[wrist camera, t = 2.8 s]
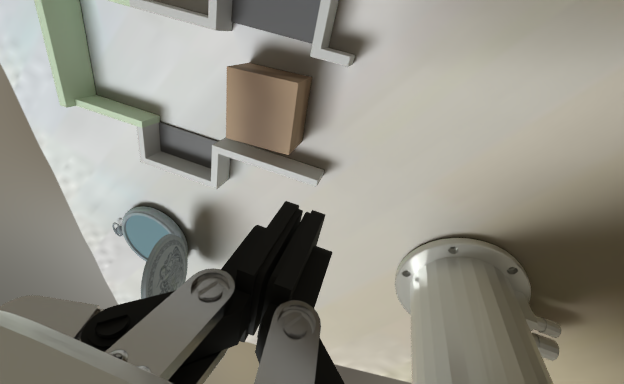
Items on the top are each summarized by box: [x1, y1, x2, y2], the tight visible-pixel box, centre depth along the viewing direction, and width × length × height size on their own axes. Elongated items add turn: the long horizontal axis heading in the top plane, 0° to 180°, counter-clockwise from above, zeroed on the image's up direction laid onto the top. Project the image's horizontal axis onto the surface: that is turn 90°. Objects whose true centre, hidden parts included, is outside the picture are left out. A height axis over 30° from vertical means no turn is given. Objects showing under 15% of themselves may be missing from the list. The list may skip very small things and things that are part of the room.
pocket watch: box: [113, 206, 188, 299], centre depth 36 cm, size 10×11×15 cm
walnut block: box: [226, 63, 312, 155], centre depth 25 cm, size 6×6×4 cm
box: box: [34, 0, 355, 189], centre depth 26 cm, size 28×20×4 cm
